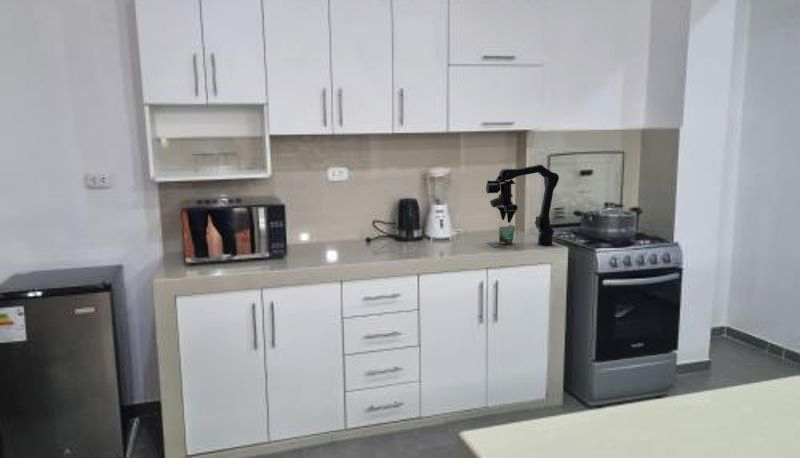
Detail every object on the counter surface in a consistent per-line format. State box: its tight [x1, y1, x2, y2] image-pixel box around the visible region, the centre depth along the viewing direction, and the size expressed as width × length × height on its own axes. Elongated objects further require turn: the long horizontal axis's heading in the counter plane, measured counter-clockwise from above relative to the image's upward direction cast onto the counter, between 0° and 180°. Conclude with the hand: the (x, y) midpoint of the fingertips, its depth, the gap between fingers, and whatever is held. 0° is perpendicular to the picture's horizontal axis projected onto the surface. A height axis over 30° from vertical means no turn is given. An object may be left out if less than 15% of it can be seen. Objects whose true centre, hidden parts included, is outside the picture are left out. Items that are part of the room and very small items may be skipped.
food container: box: [498, 224, 517, 246], centre depth 322 cm, size 12×6×10 cm, turn 143°
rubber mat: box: [486, 241, 507, 249], centre depth 321 cm, size 6×12×1 cm, turn 9°
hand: (506, 221), depth 317 cm, fingers open, 9 cm apart
